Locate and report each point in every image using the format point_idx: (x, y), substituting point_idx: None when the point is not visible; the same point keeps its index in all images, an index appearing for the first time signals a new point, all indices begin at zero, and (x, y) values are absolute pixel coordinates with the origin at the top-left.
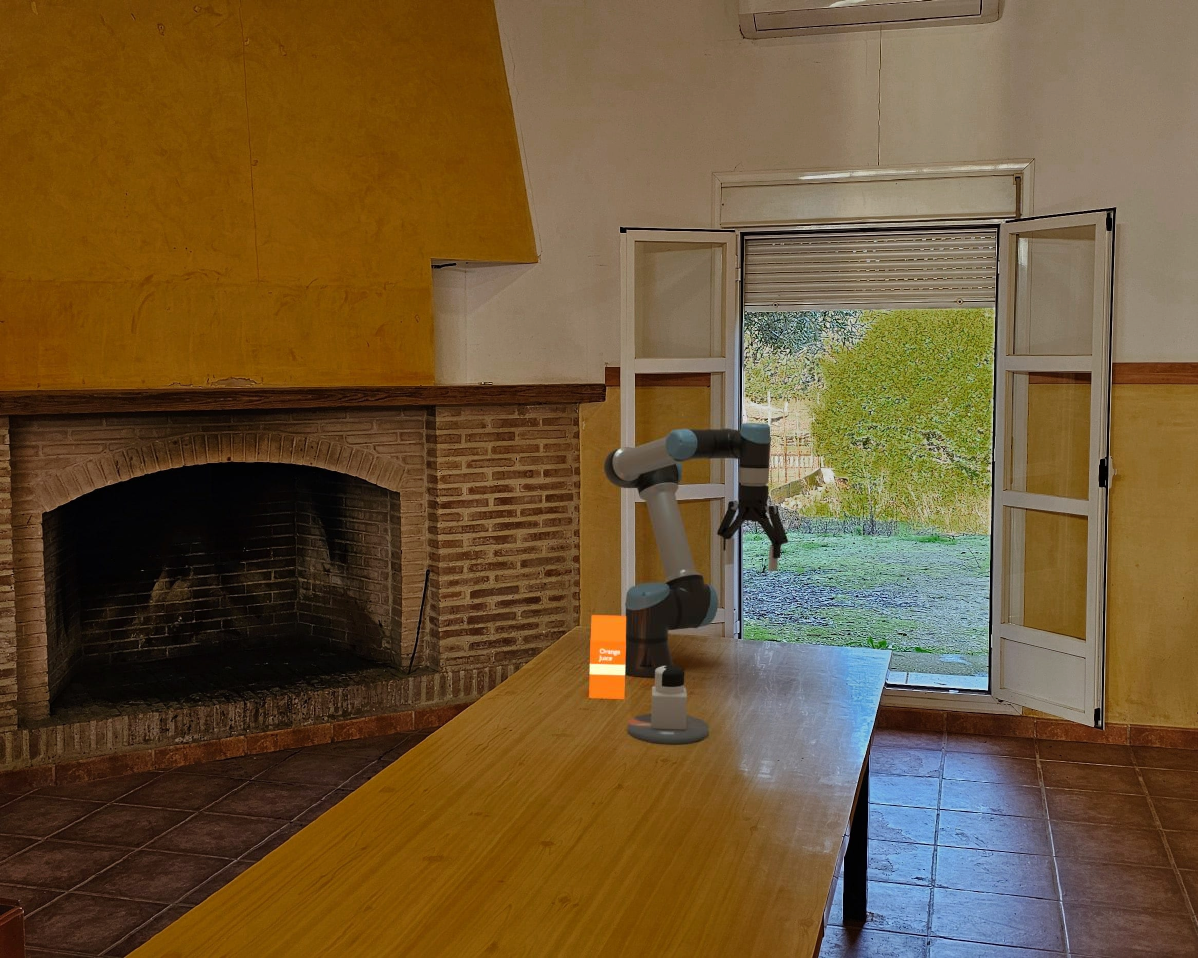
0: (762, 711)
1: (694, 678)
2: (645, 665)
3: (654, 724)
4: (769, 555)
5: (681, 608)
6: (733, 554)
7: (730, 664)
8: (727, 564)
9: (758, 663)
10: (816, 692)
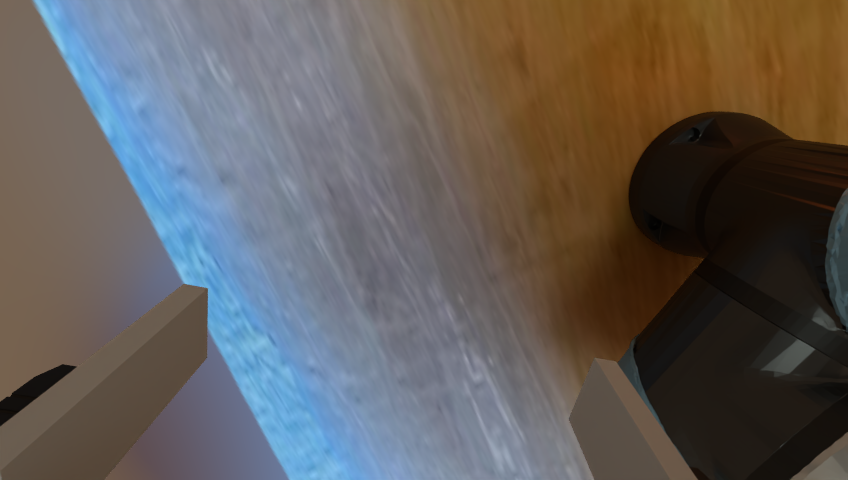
0: (299, 11)
1: (563, 189)
2: (701, 137)
3: None
4: (109, 370)
5: (724, 290)
6: (596, 477)
7: (535, 341)
8: (593, 360)
9: (487, 378)
10: (285, 245)
